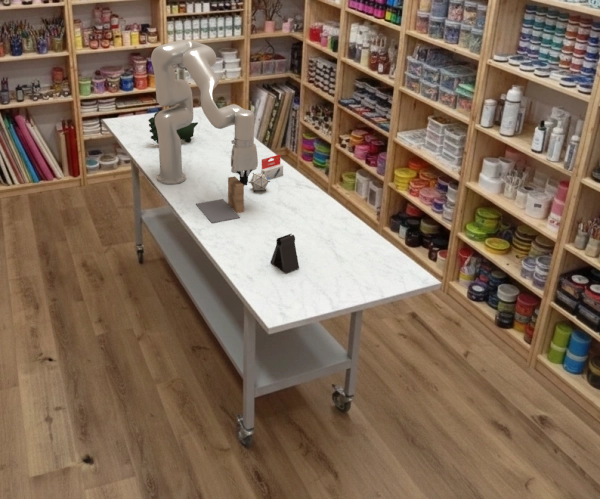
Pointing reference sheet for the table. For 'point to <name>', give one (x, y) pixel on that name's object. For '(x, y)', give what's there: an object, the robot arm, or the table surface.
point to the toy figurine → (183, 132)
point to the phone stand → (285, 254)
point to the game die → (259, 181)
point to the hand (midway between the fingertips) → (243, 184)
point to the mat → (217, 211)
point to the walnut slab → (235, 194)
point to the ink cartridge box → (272, 167)
